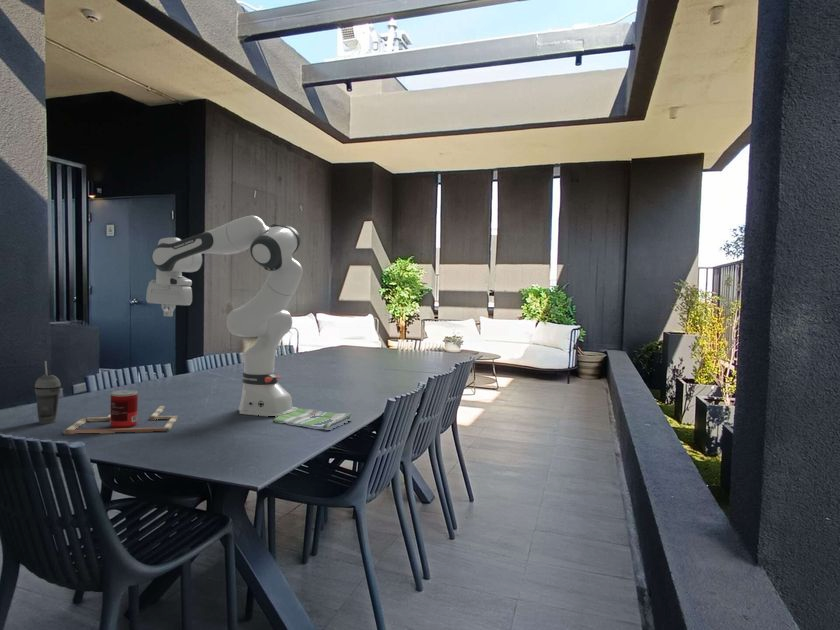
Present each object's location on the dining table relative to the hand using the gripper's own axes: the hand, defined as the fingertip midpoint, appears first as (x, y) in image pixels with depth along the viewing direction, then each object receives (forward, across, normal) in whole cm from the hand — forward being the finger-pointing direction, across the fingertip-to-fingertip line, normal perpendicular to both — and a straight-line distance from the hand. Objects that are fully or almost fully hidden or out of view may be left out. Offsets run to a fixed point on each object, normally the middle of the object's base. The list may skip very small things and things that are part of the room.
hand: (168, 316), depth 201 cm
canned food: (+34, +13, -29) cm, 47 cm away
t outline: (+34, +9, -23) cm, 42 cm away
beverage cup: (+34, -10, -38) cm, 52 cm away
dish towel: (+35, +62, +8) cm, 71 cm away
